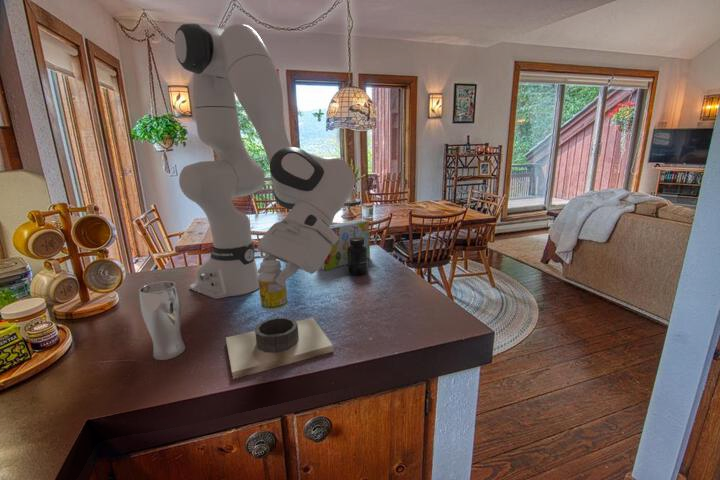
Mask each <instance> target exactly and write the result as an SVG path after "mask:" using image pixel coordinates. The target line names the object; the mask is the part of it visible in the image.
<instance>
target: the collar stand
mask: <svg viewBox="0 0 720 480" xmlns="http://www.w3.org/2000/svg"><path fill="white" fill-rule="evenodd" d="M225 341H226V342H225V343H226V347H227V353H228V359H229V365H230V370H231V377H232V376H233V377H232V380H235V378H236V379H239V377H240V378H243V376H244V377H247V376H250V375H253V374H258V373H261V372H264V371H268V370H272V369H275V368H279V367H283V366H287V365H290V364H294V363H297V362H300V361H304V360H307V359H312V358H316V357H318V356H322V355H326V354H329V353H333V352H334V345H333V343H332V342H331V341H330V339H329V337H327V335H326V334H325V332H324V331H323V330H322V328H321V327H320V326H319V324H318V323H317V321H316V320H315V319H314V318H313V317H309V318H304V319H300V320H296V319H294V318H291V317H290V316H289V317H287V316H276V317H270V318H266V319H265V320H263V321H261V322H259V323H258V324H257V325H256V326H255V328H254V330H253V331H248V332H244V333H240V334H236V335H230V336H226V337H225ZM246 375H247V376H246Z"/></svg>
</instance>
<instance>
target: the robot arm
mask: <svg viewBox="0 0 720 480" xmlns="http://www.w3.org/2000/svg"><path fill="white" fill-rule="evenodd" d="M173 45H174V51H175V52H174V53H175V56H176V59H177V61H178V63H179V64H180V66H181V67H182V68H183V70H186V71H189V72H191V73H193V75H192V99H193V110H194V116H195V123H196V130H197V135H198V138H199V140H200V141H201V142H202V143H203V144H204V145H206V146H208V147H210V148H211V149H212V150H213V151H214V153H215V156H216V157H217V160H209V161H208V160H206V161H198V162H195V163H191V164H188V165H185V166H183V167H182V169H181V171H180V173H179V178H178V182H179V188H180V190H181V192H182V193H183V195H185V197H186V198H187V199H188V200H190V201H192V202H193V203H195V204H196V205H197V206H199V208H201V210H202V211H203V212H204V214H205V215H206V218H207V219H208V222H209V227H210V231H211V237H212V243H213V245H212V246H209V247H207V248H206V249H207V252H210V255H209V258H208V259H207V260H206V261H205V262H204V263H203V264H202V265H200V266H199V267H198V268H197V271H196V281H193V283H191V284H190V285H189V290H191V289H192V290H191V291H193V290H194V292H196V291H197V292H196V293H199V294H201V293H202V295H205V296H207V297H210V298H212V299H216V300H217V299H222V298H227V297H236V296H242V295H245V294H249V293H252V292H254V291H257V290H258V289H259V281H258V276H259V274H260V273H261V272H262V271H261V269H260V268H259V269H258V268H257V263H256V259H255V253H256V251H255V244H254V241H253V239H252V230H251V221H250V218H249V216H248V215H247V214H245V213H244V212H242V211H241V210H238V209H237V208H236V207H235V204H234V201H233V199H235V198H242V197H245V196H250V195H253V194H255V193H257V192H259V191H260V190H262V189H263V187H264V184H265V172H264V169H263V168H262V166H261V165H260V164H259V163H258V162H257V161H255V160H254V159H253V158H252V157H251V155H250V154H249V152H248V150H247V148H246V146H245V144H244V141H243V138H242V135H241V128H240V123H239V115H238V106H237V101H236V98H237V100H238V102H239V103H240V105H241V107H242V109H243V111H245V113H246V115H247V117H248V120H250V122H251V124H252V126H253V127H254V129H255V131H256V133H257V135H258V136H259V138H260V141H261V144H262V147H263V149H264V152H265V154H266V157H267V160H268V162H269V172H270V173H269V174H270V179H271V184H272V193H273V194H272V196H273V198H274V199H275V202H277V204H278V205H280V207H282V208H285V209H287V210H290V211H289V212H288V213H287V215H286V216H285V218H284V219H282V220H281V221H278V222H276V223H274V224H273V225H271V226H270V228H269V229H268V230H266V232H265V234H264V235H263V236H261V239H260V240H259V241H258V242H257V247H256V248H257V249H258V250H260V252H262V253H264V256H263V259H262V262H264V261H268V260H278V261H280V262H283V263H286V264H285V265H284V266H285V267H284V269H282V271H281V272H280V274H279V273H277V274H276V276H275V277H274V279H273V281H274V282H276V283H277V284H279V285H283V284H284V283H285V281H286V282H287V280H288V279H289V278H291V277H292V276H294V275H295V274H296V273H297V271H298V270H301V271H304V272H306V273H308V274H311V275H312V274H315V273H316V272H318V271H319V270H320V267H321V266H322V264H323V263H324V261H325V260H326V258H327V256H328V255H329V253H330V251H331V248H332V246H331V245H335V244H336V243H337V241H338V239H339V237H338V236H337V234H336V233H335V232H334V231H333V230H332V229H331V228H330V225H333V221H334V219H335V216H336V215H337V213H339V212H340V211H341V210H342V209H343V208H344V205H345V204H346V203H347V201H348V199H349V197H350V196H351V194H352V193H353V190H354V187H355V184H356V176H355V173H354V171H353V169H352V167H351V166H350V165H349V164H348V162H347V161H345V160H343V159H342V158H340V157H337V156H330V157H329V156H328V157H327V156H320V155H315V154H313V153H310V152H307V151H305V150H303V149H302V148H300V147H296V146H295V147H294V146H291V143H290V142H289V138H288V135H287V132H286V127H285V119H284V118H285V117H284V98H283V97H284V96H283V88H282V84H281V79H280V76H279V71H278V69H277V66H276V64H275V62H274V60H273V58H272V55H271V54H270V51H269V50H268V47H267V46H266V44H265V43H264V41H263V40H262V38H261V37H260V35H259V34H258V33H257V31H256V30H255V29H254V28H252V27H251V26H249V25H247V24H243V23H236V24H231V25H229V26H227V27H226V28H225V27H215V26H208V25H207V26H206V25H199V23H183V24H181V25H180V26H179V27H178V28H177V29H176V31H175V34H174V41H173Z"/></svg>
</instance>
